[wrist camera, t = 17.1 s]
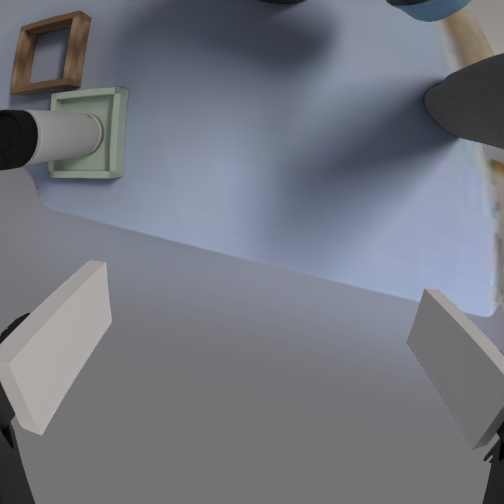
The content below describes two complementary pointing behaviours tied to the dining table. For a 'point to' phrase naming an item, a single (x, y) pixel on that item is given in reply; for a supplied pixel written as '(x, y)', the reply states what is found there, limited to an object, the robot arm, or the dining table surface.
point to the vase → (471, 102)
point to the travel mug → (46, 136)
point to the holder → (73, 57)
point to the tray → (114, 121)
